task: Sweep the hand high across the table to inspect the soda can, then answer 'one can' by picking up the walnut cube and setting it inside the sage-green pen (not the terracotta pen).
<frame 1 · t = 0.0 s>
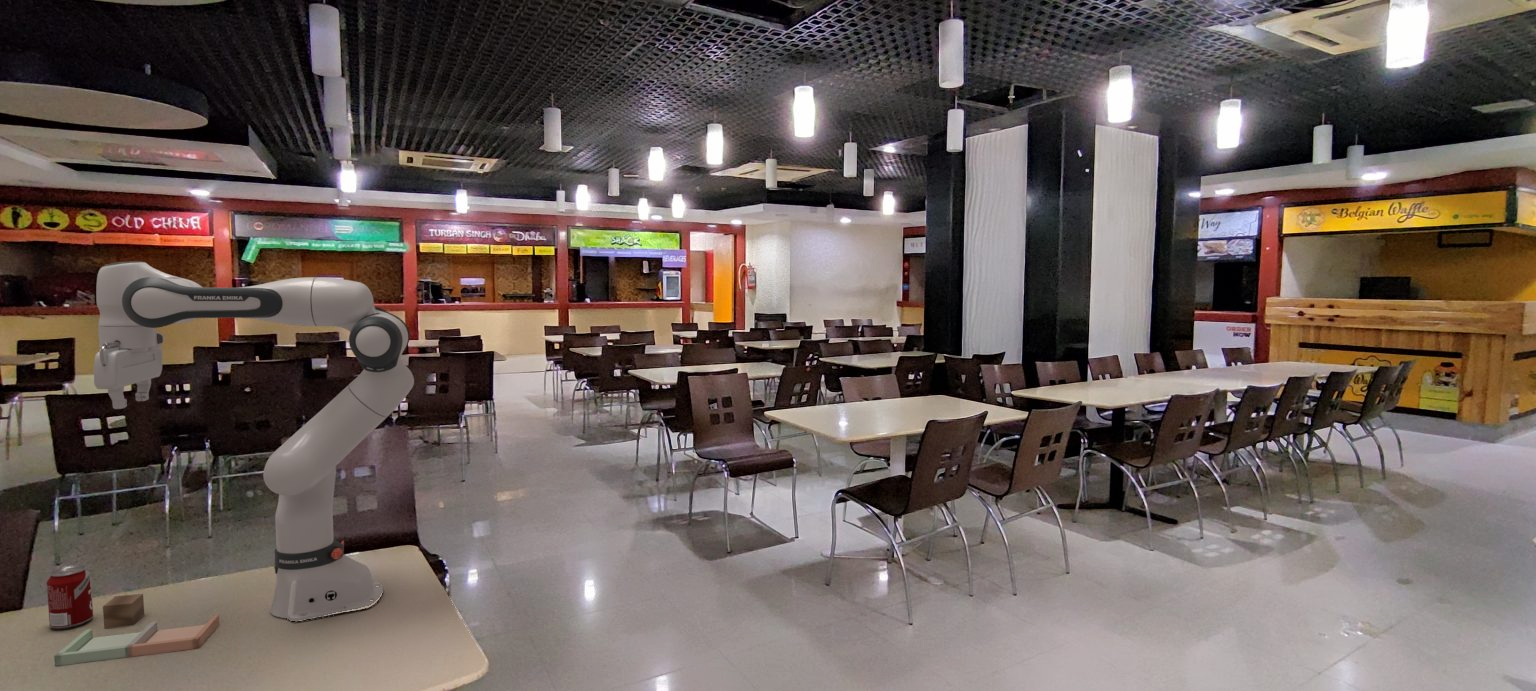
hand: (131, 404, 152), 48 cm above the table, fingers open, 8 cm apart
soda can: (72, 624, 156), on the table
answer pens: (143, 642, 149), on the table
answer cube: (124, 621, 157), on the table
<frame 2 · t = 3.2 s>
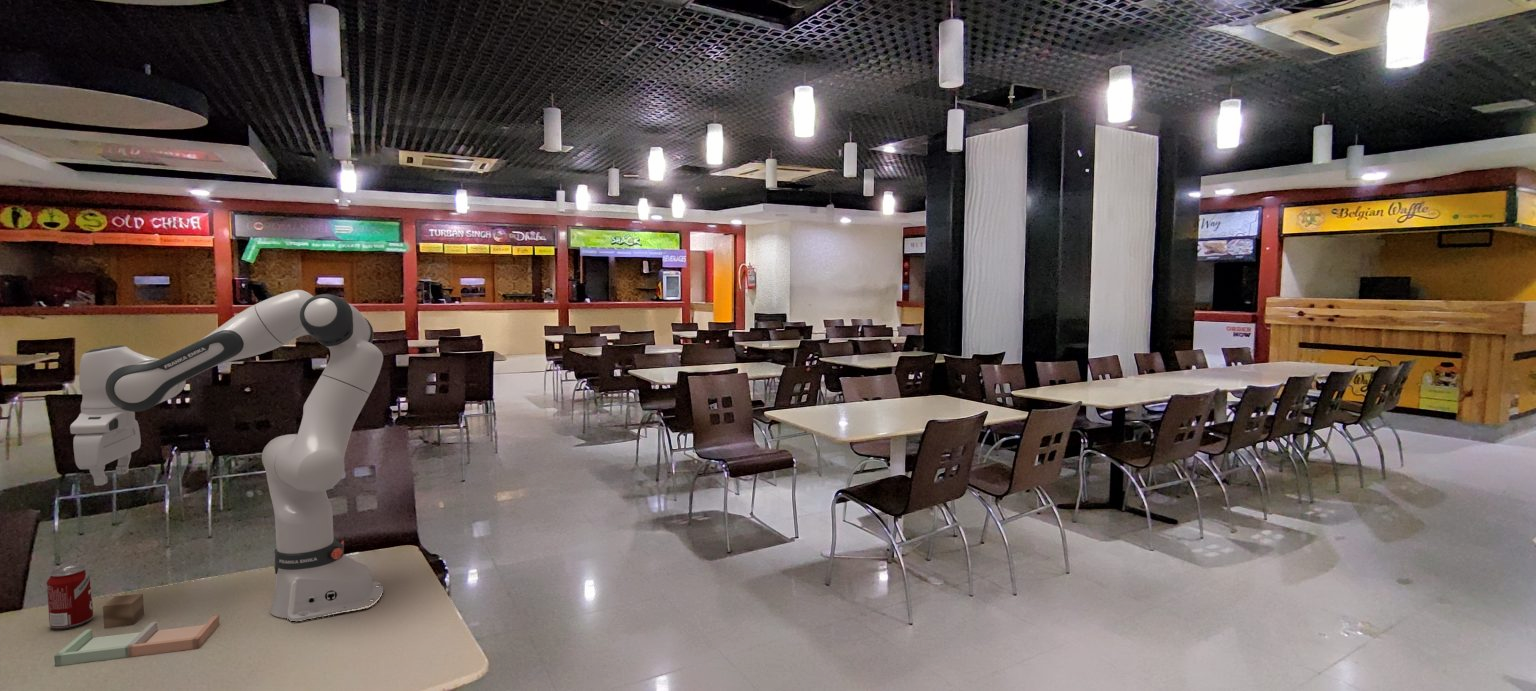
hand: (112, 478, 163), 29 cm above the table, fingers open, 8 cm apart
nothing on the table moved.
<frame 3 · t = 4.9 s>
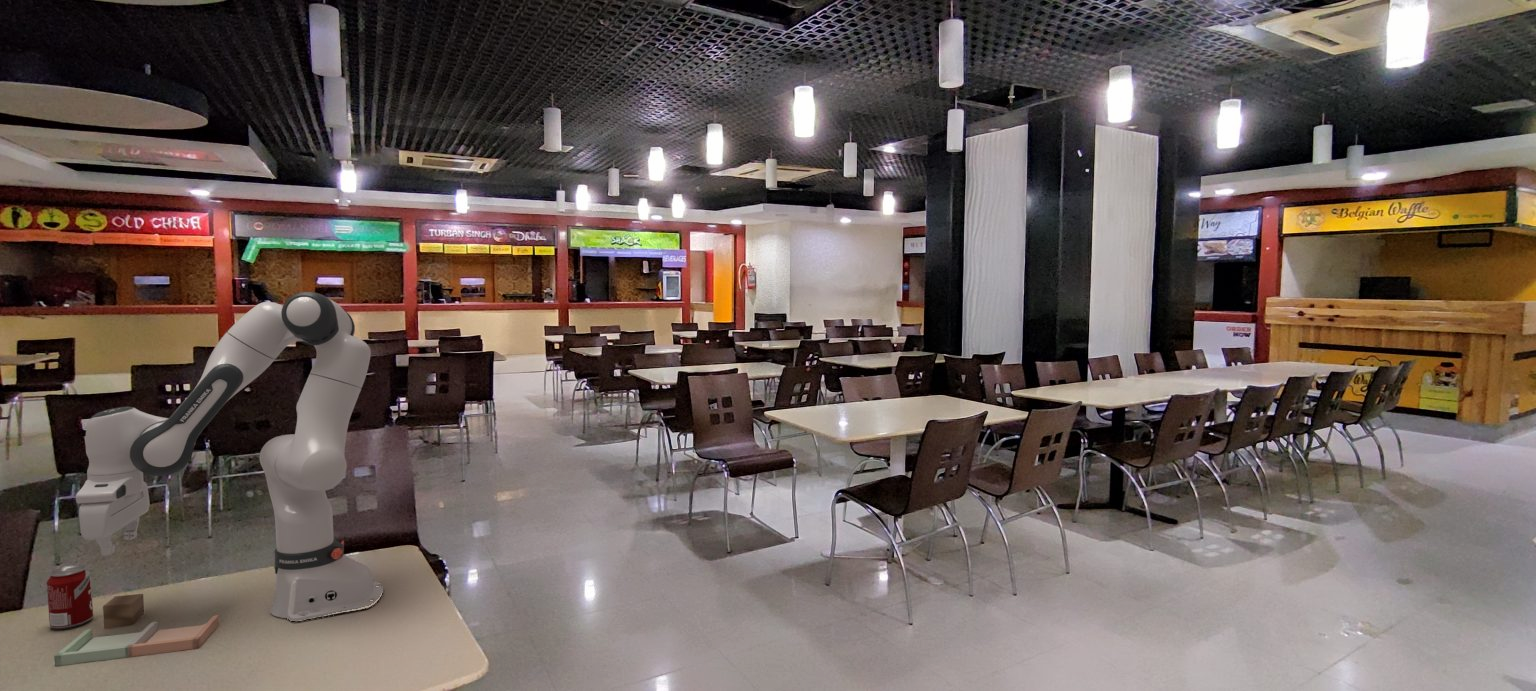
hand: (119, 546, 156), 17 cm above the table, fingers open, 8 cm apart
nothing on the table moved.
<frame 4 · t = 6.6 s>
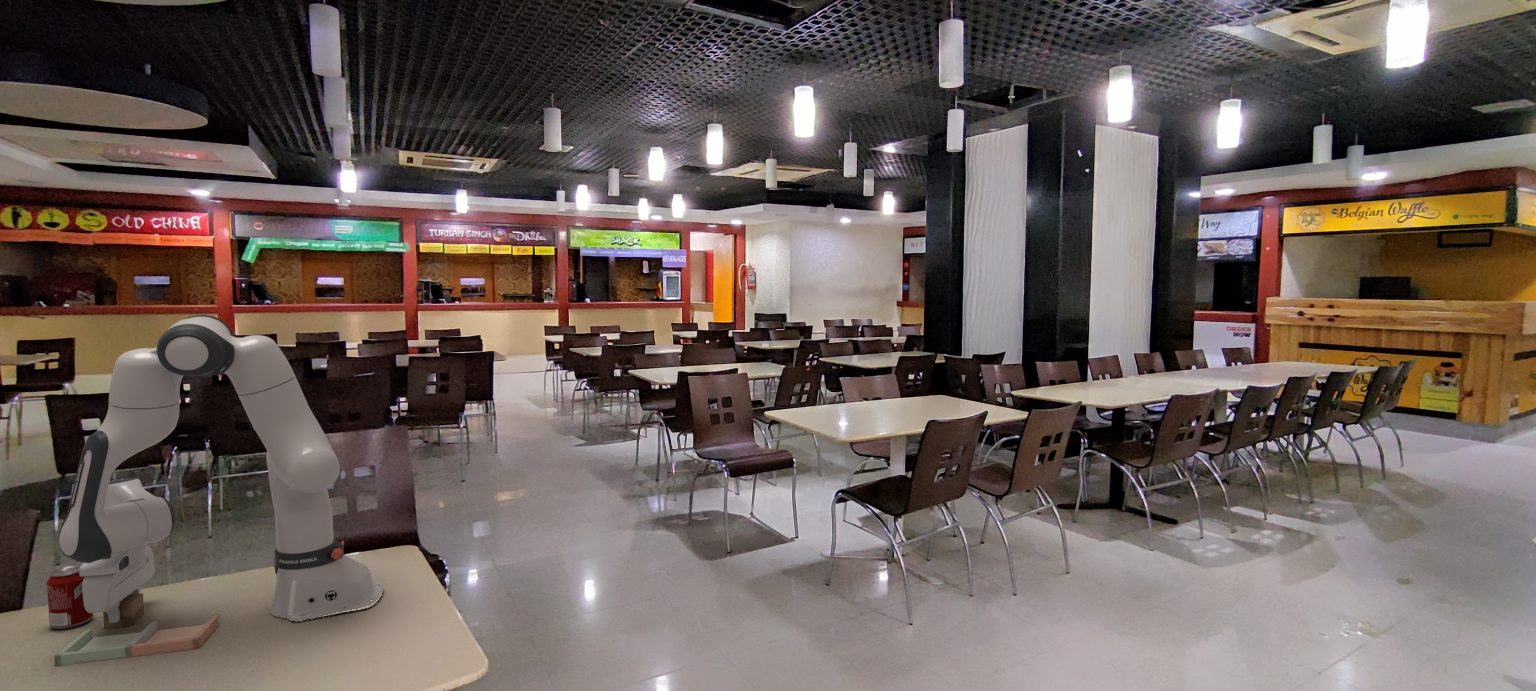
hand: (124, 614, 157), 2 cm above the table, fingers closed on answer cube, 5 cm apart
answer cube: (124, 621, 157), on the table, touching gripper
everything else where it was.
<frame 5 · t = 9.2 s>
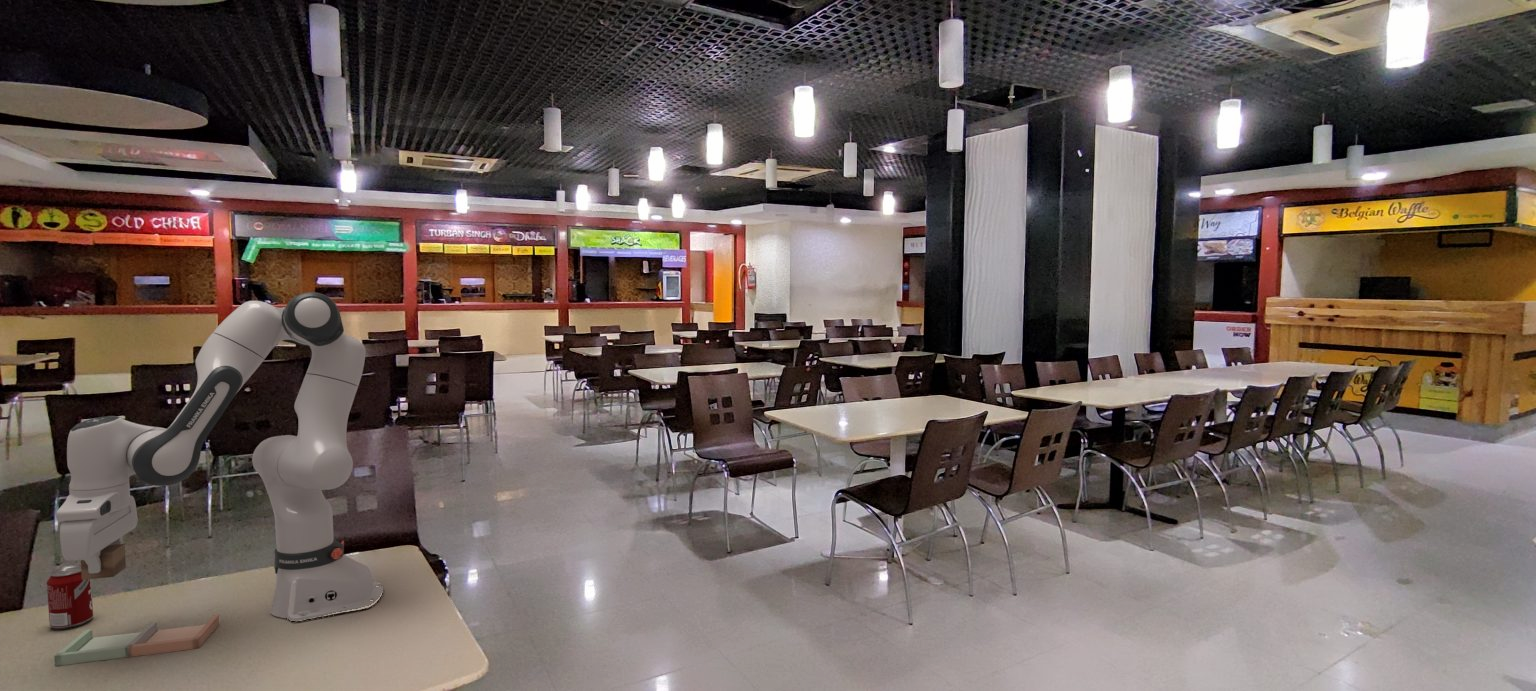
hand: (104, 565, 145), 17 cm above the table, fingers closed on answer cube, 5 cm apart
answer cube: (104, 573, 145), point 15 cm above the table, touching gripper
everything else where it was.
when the fingers open (4 cm above the table, at t = 11.6 s): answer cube drops 2 cm, resting on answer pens.
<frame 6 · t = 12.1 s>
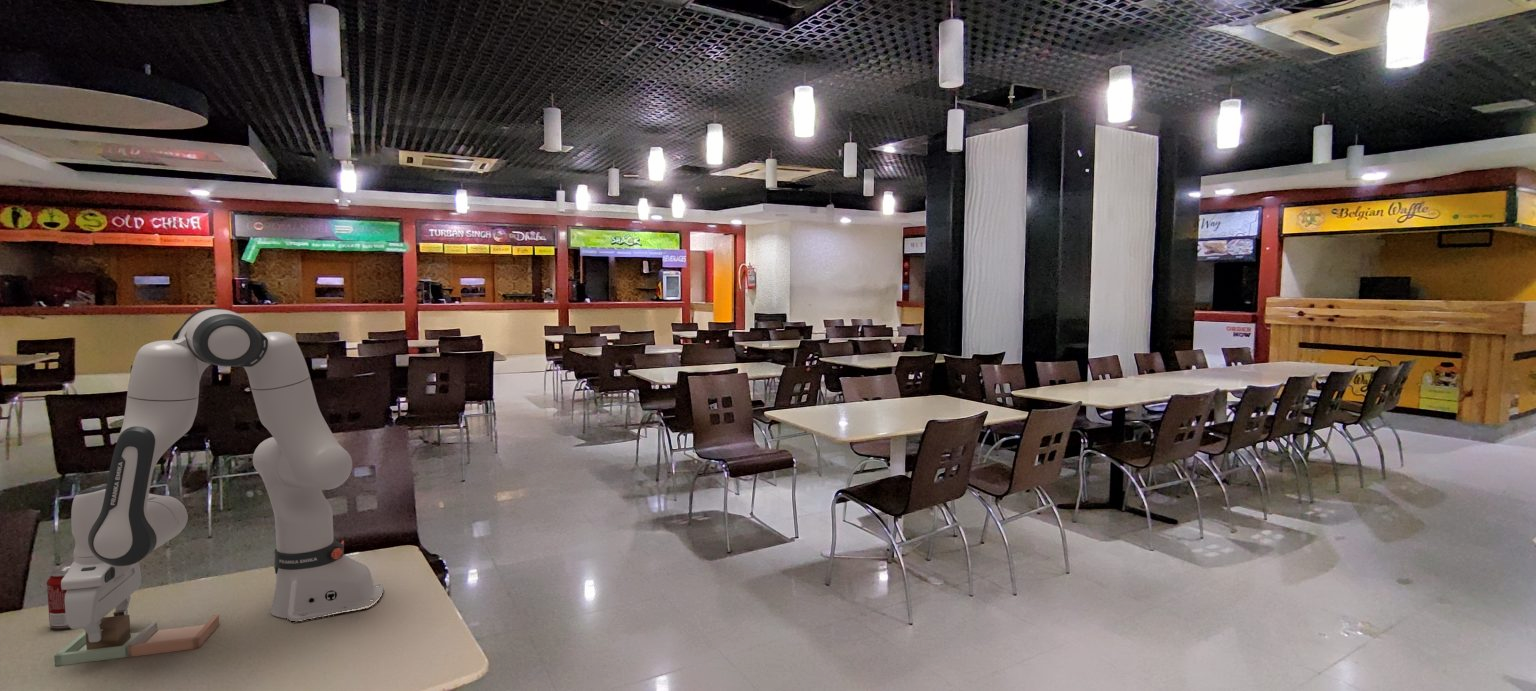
hand: (109, 629, 146), 4 cm above the table, fingers open, 8 cm apart
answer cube: (109, 645, 147), resting on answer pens
everything else where it was.
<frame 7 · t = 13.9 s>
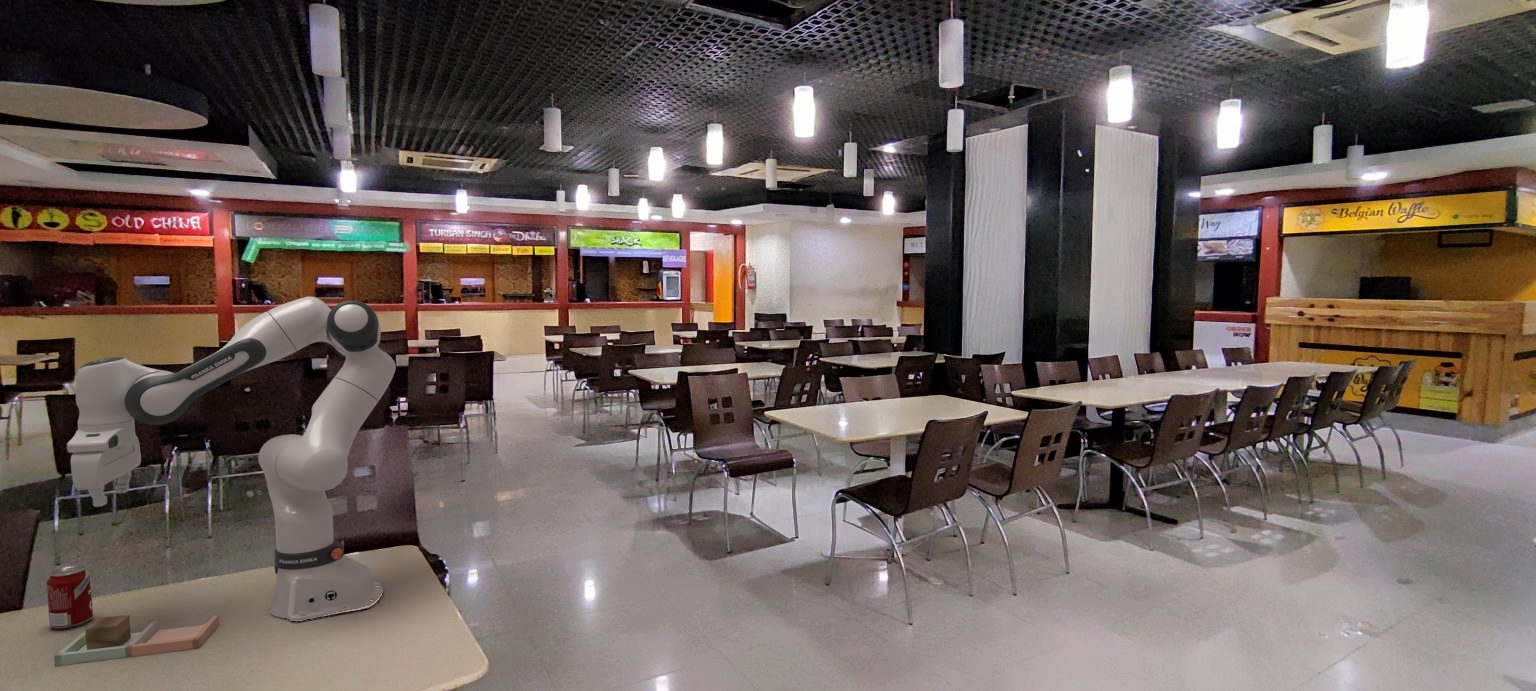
hand: (111, 498, 153), 28 cm above the table, fingers open, 8 cm apart
nothing on the table moved.
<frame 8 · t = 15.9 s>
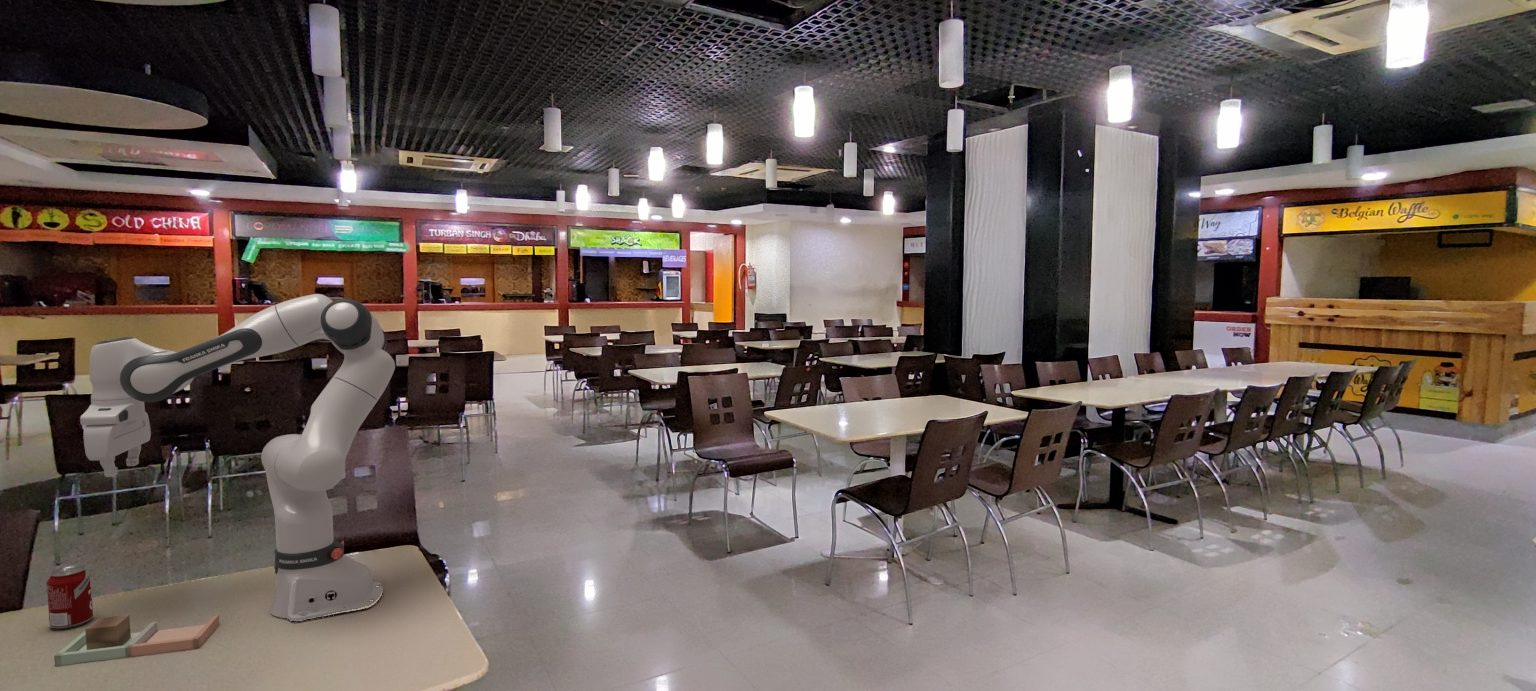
hand: (122, 470, 163), 31 cm above the table, fingers open, 8 cm apart
nothing on the table moved.
at the end: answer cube inside the target area (0.1 cm from its centre), resting on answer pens; the gripper is holding nothing; soda can moved 0.2 cm from its start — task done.
